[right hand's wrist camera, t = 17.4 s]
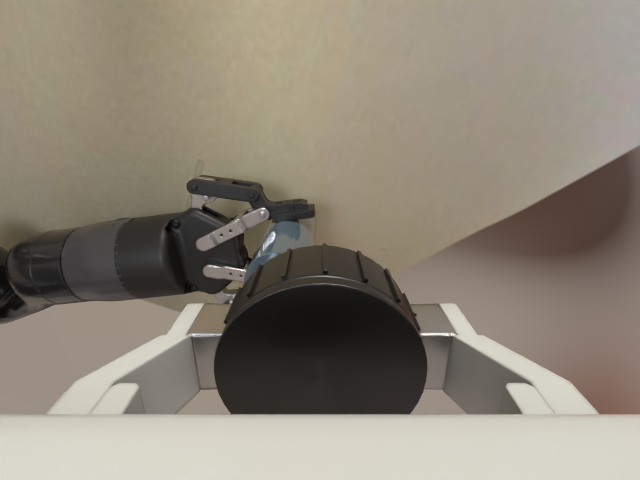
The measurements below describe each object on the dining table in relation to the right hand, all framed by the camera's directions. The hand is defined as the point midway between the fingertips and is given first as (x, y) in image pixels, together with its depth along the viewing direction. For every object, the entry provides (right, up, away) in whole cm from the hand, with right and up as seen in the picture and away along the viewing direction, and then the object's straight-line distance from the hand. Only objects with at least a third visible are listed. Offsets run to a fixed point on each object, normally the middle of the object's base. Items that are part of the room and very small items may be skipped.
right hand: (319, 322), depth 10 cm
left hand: (0, +3, +20) cm, 21 cm away
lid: (0, -1, -2) cm, 2 cm away
